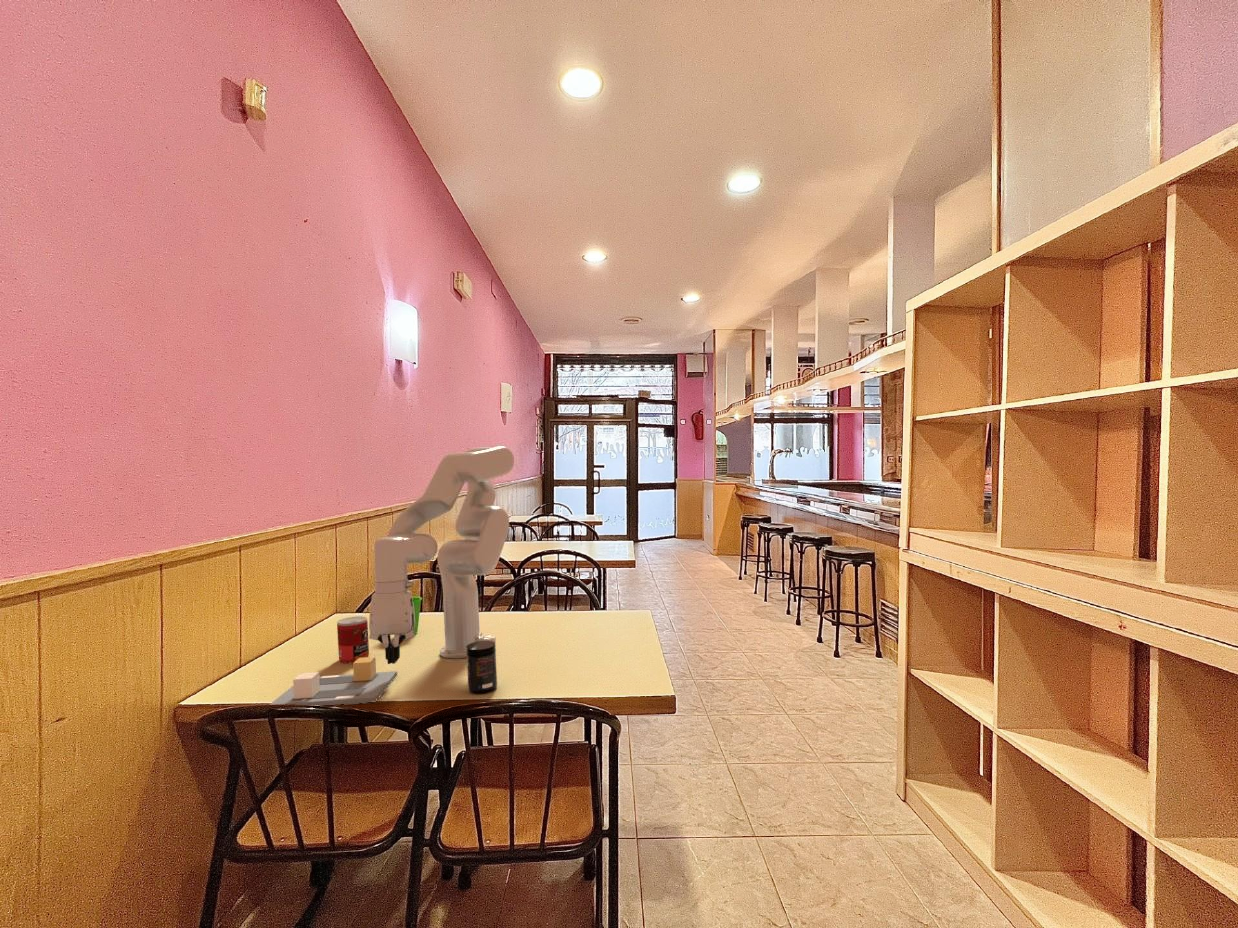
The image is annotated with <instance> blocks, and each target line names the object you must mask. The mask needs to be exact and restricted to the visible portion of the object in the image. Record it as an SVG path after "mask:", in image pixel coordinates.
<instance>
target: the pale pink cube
mask: <svg viewBox="0 0 1238 928" xmlns="http://www.w3.org/2000/svg"><path fill="white" fill-rule="evenodd" d="M319 676H320V671H318V672H304V673H299V674H298V675H297V676H296V677H294V678H293V680H292V681H293V682H292V683H293V685H294V699H300V698H313V697H314V696H315V695H316V694H317V693H318V692H319V691H320V684H319ZM293 685H292V686H293Z"/></svg>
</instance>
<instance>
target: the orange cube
mask: <svg viewBox="0 0 1238 928" xmlns="http://www.w3.org/2000/svg"><path fill="white" fill-rule="evenodd" d="M376 659H377V658H376V656H368V657H365V658H358V659H357V660H356V661H355V662H354V663H352V666H353V667H352V668H353V669H352V670H353V674H354V681H365V680H371V679H372V678H373V677H374V676H375V675H376V672H377V662H376V661H377V660H376Z"/></svg>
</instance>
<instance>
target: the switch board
mask: <svg viewBox="0 0 1238 928" xmlns="http://www.w3.org/2000/svg"><path fill="white" fill-rule="evenodd" d="M396 676H397V677H398V670H395V671H380V672H377V671H376V675H375V676H374V677H373V678H372V679H371V680H365V681H354V673H350V674H349V673H347V674H337V675H336V674H335V675H319V684H320V691H319V692H318V693H317V694H316V695H315V696H314V697H313V698H300V699H294V685H292V686H291V687H290V688H288V689H287V690H286V691H284V692H283V693H282V694H281V695H280V696H278V697H277V698H276V699H274V700H273V701H272V702H271V703H269V705H285V704H288V705H289V704H296V705H334V706H336V705H335V704H344V705H343V706H345V705H346V706H347V705H359V703H362V704H368V703H367V702H372V701H376V699H378V698H380V697H381V696H382V695H383V694H382V692H383V693H385V691H386V690H387V689H388V688H389V686H390V685H391V684H392V683H391V681H393V682H394V680H395V679H396V678H397V677H396ZM395 677H396V678H395ZM394 678H395V679H394ZM393 679H394V680H393ZM390 683H391V684H390ZM389 684H390V685H389ZM388 685H389V686H388ZM387 687H388V688H387ZM386 688H387V689H386ZM385 689H386V690H385ZM384 690H385V691H384ZM381 694H382V695H381ZM380 695H381V696H380ZM379 696H380V697H379ZM378 700H379V699H378ZM376 702H377V701H376Z"/></svg>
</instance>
